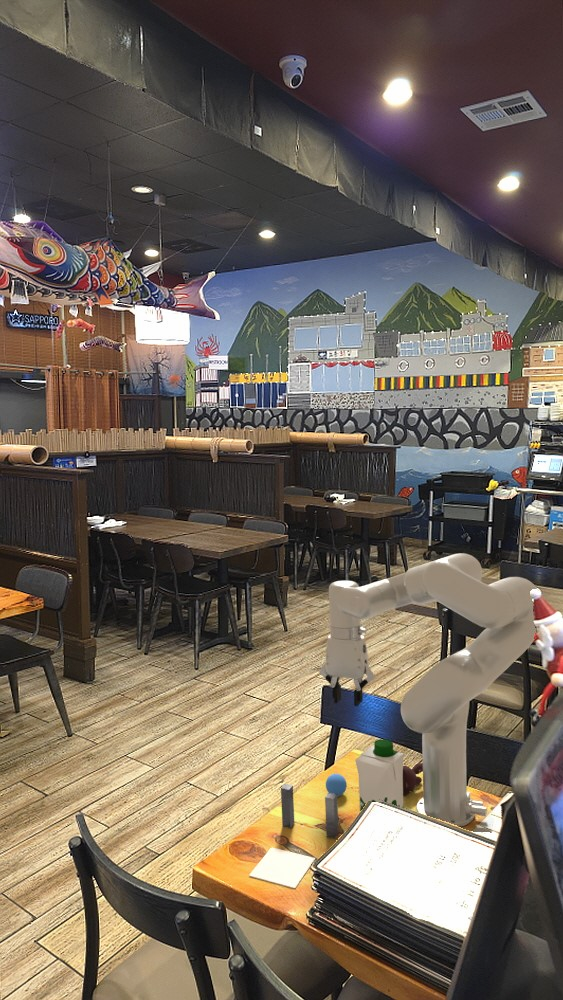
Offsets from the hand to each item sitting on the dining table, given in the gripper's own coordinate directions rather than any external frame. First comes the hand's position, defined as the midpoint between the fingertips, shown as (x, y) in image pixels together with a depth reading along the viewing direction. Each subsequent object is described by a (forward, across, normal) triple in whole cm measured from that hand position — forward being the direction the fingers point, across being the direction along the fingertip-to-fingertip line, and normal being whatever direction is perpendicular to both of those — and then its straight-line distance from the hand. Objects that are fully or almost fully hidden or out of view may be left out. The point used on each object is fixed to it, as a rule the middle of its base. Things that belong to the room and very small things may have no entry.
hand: (347, 702), depth 173 cm
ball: (+17, 0, +10) cm, 19 cm away
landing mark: (+19, 0, +40) cm, 44 cm away
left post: (+19, +5, +26) cm, 32 cm away
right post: (+19, -5, +26) cm, 32 cm away
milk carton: (+20, -15, +22) cm, 33 cm away
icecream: (+20, -14, +3) cm, 24 cm away
